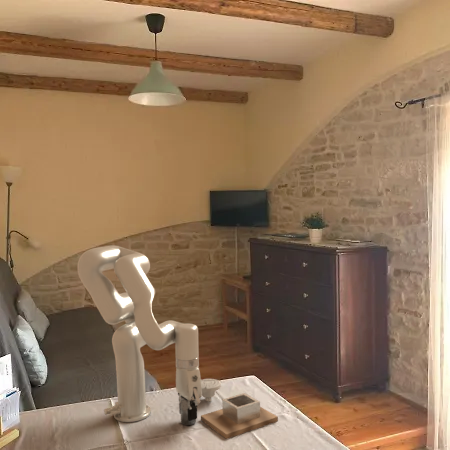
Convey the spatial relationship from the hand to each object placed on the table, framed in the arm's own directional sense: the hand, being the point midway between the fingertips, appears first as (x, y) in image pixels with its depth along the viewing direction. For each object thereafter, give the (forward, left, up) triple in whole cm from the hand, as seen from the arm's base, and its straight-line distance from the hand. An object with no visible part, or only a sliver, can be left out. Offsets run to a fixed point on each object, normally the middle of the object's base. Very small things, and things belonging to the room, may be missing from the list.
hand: (188, 415), depth 160 cm
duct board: (+14, -9, -2) cm, 17 cm away
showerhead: (+14, +11, -3) cm, 19 cm away
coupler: (0, 0, -2) cm, 2 cm away
